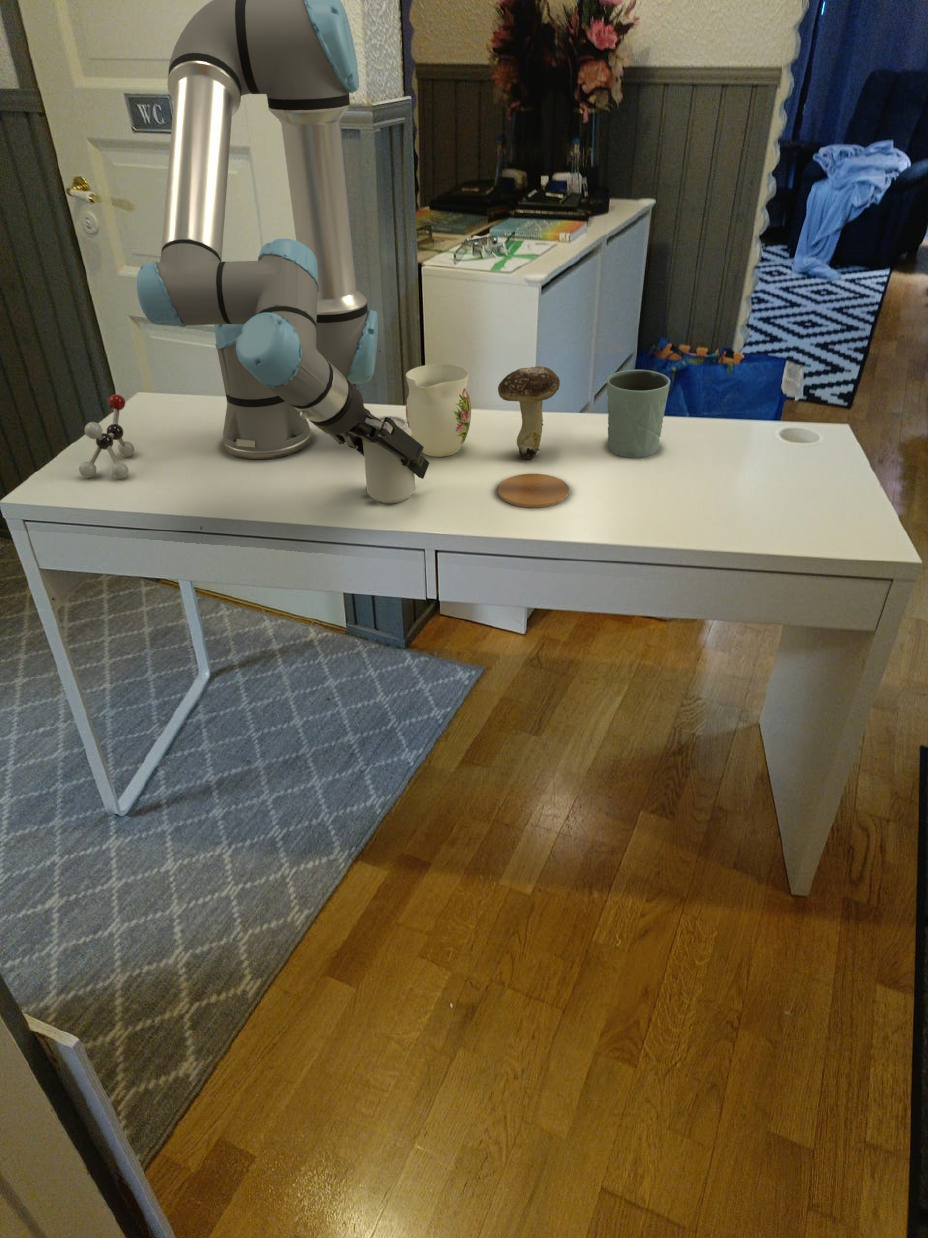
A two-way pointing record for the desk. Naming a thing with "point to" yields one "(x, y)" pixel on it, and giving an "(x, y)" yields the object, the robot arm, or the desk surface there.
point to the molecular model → (108, 442)
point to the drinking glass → (636, 411)
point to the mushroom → (529, 403)
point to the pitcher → (438, 408)
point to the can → (387, 470)
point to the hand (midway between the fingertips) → (402, 464)
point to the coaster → (533, 490)
